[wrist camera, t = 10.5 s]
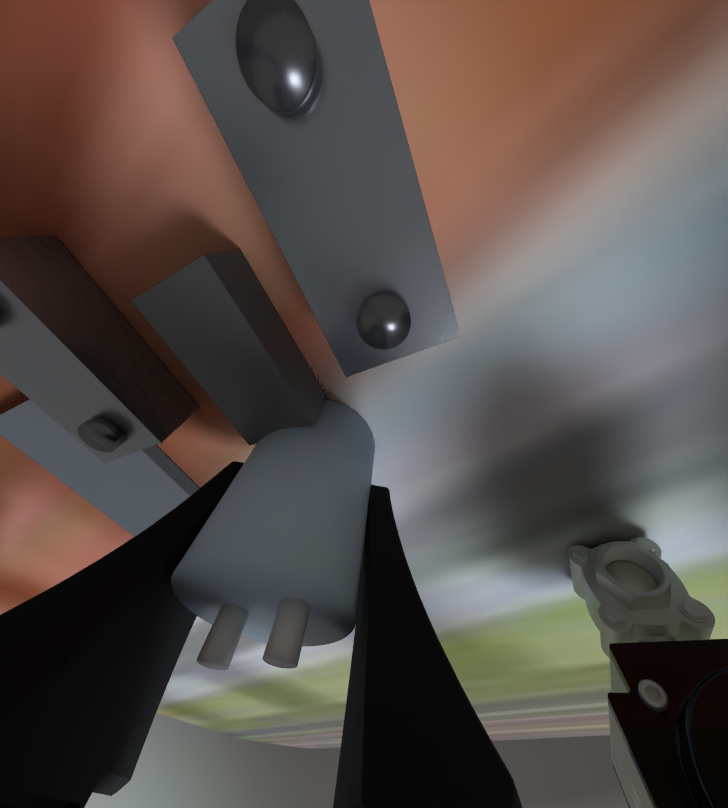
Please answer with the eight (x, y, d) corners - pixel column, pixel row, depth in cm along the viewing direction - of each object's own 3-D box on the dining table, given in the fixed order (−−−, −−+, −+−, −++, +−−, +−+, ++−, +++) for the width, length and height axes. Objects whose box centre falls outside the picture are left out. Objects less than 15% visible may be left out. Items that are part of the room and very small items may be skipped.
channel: (1, 277, 9) (-119, 294, 7) (357, -4, 6) (330, -153, 3) (148, 427, 12) (95, 470, 10) (447, 311, 8) (464, 342, 6)
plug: (156, 299, 9) (-271, 432, 3) (265, 233, 8) (-130, 263, 2) (304, 489, 13) (230, 696, 8) (391, 468, 12) (383, 698, 6)
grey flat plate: (1, 415, 13) (-16, 422, 12) (82, 372, 11) (67, 379, 11) (172, 550, 18) (166, 560, 17) (247, 536, 16) (242, 546, 16)
